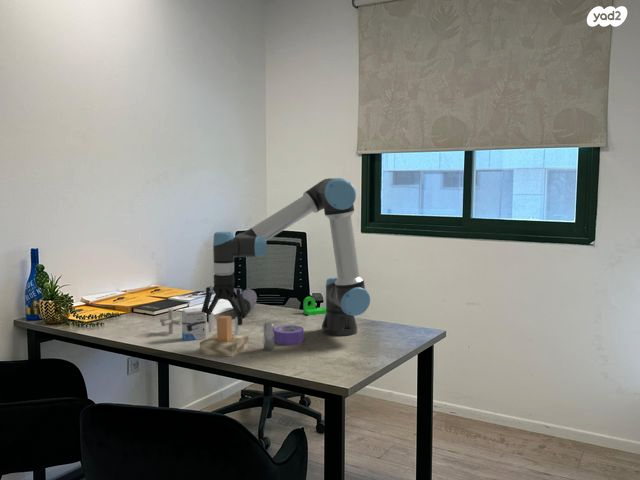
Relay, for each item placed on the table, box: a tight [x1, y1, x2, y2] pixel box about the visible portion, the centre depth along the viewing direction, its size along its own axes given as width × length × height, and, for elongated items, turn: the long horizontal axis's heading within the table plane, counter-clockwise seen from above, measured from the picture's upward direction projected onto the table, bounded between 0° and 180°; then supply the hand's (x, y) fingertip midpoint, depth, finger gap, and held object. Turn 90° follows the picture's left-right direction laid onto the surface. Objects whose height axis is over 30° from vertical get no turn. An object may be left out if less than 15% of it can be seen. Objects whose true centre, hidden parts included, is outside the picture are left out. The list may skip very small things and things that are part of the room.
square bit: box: [216, 315, 233, 342], centre depth 216 cm, size 4×4×12 cm
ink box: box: [181, 307, 207, 342], centre depth 231 cm, size 8×5×12 cm, turn 117°
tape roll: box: [274, 324, 305, 346], centre depth 229 cm, size 12×12×5 cm
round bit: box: [262, 321, 275, 352], centre depth 216 cm, size 4×4×10 cm
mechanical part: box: [302, 296, 326, 316], centre depth 278 cm, size 12×6×8 cm, turn 117°
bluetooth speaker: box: [235, 288, 258, 316], centre depth 277 cm, size 23×9×10 cm, turn 179°
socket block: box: [199, 333, 249, 357], centre depth 216 cm, size 13×14×4 cm
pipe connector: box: [159, 308, 182, 335], centre depth 238 cm, size 10×10×10 cm
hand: (224, 332), depth 216 cm, fingers open, 10 cm apart
